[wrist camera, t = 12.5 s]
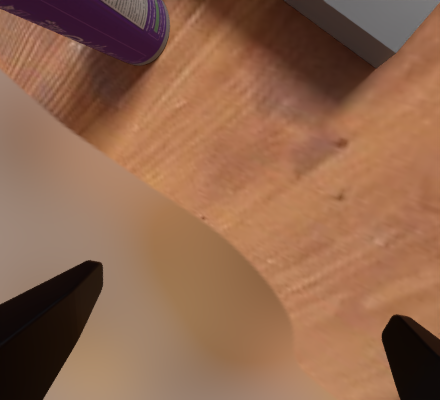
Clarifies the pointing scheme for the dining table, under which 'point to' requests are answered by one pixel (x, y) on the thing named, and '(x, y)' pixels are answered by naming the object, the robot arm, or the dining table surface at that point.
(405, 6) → the socket block
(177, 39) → the dining table surface
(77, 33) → the container
